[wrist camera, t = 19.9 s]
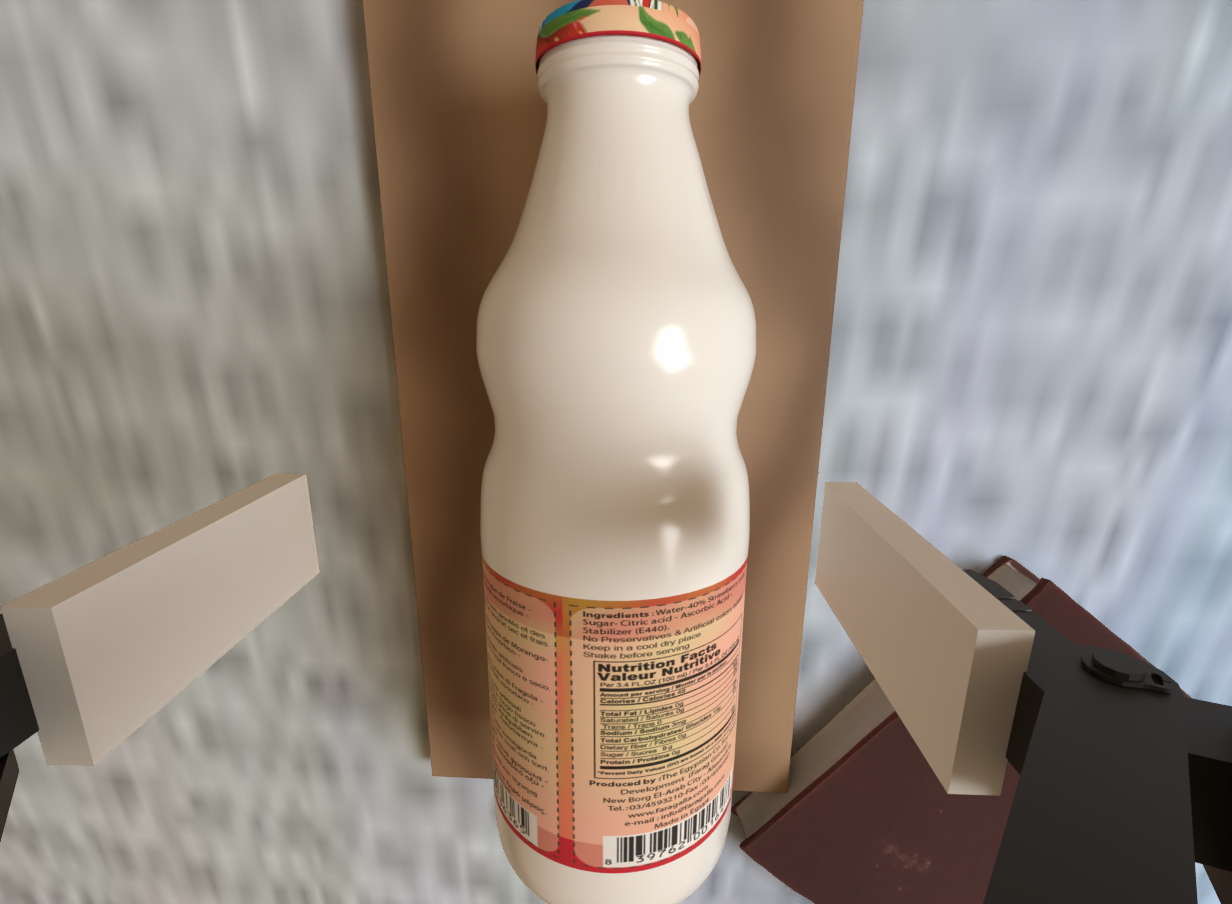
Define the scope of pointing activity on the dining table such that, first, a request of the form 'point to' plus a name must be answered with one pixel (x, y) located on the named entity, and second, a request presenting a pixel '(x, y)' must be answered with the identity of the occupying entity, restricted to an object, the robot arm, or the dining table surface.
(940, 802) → the book
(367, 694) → the dining table surface
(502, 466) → the fruit juice
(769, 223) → the walnut board
